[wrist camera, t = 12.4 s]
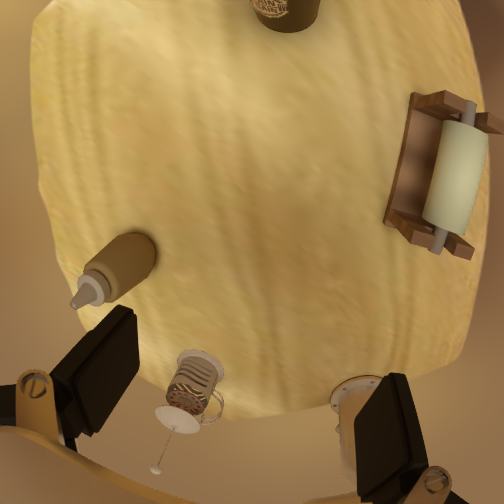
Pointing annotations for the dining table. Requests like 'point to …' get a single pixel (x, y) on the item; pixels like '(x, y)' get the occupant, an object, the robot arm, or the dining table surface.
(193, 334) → the dining table surface
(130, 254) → the squeeze bottle
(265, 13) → the water bottle
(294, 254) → the dining table surface
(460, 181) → the roll
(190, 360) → the french press
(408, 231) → the holder
